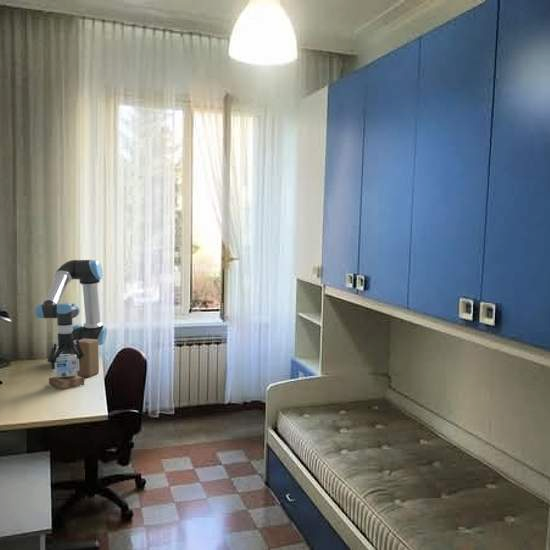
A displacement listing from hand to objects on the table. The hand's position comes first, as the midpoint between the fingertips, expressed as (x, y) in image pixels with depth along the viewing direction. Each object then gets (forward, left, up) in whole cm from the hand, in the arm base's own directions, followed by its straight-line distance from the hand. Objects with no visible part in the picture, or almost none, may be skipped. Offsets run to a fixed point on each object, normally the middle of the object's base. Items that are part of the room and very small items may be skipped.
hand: (66, 372), depth 301 cm
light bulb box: (0, 0, -2) cm, 2 cm away
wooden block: (-18, -11, -7) cm, 22 cm away
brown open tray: (0, 0, -7) cm, 7 cm away
